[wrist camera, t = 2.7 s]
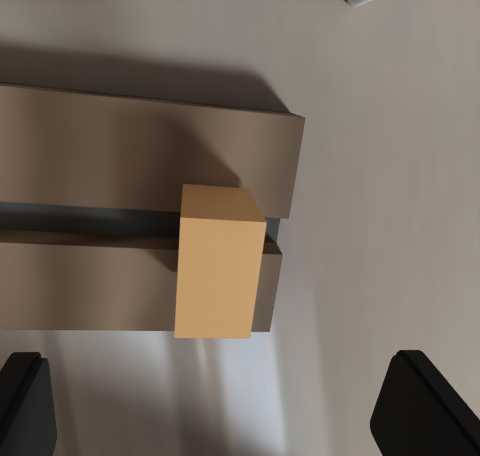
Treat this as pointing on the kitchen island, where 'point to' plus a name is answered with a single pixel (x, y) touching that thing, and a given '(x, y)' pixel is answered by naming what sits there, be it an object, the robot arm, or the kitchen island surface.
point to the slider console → (124, 201)
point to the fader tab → (218, 262)
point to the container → (357, 2)
